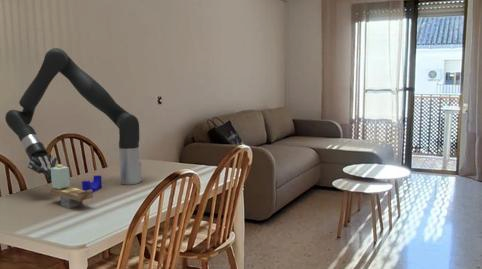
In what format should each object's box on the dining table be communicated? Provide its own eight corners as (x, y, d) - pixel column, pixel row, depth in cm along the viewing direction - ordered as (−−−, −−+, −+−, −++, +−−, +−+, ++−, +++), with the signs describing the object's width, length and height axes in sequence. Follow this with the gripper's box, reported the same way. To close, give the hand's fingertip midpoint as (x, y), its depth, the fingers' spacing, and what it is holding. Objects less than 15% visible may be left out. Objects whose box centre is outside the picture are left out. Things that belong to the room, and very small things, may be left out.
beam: (64, 199, 194) (63, 182, 193) (93, 207, 182) (92, 189, 181) (51, 202, 189) (50, 185, 188) (79, 211, 177) (78, 193, 176)
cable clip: (92, 187, 213) (92, 175, 212) (101, 188, 212) (101, 175, 211) (79, 194, 201) (78, 181, 200) (89, 195, 201) (88, 181, 200)
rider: (63, 184, 192) (61, 163, 191) (70, 186, 189) (68, 164, 188) (52, 187, 188) (50, 165, 187) (58, 189, 185) (57, 166, 184)
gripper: (21, 143, 191) (39, 176, 185) (51, 139, 201) (69, 170, 196) (16, 155, 195) (33, 187, 189) (45, 150, 205) (62, 181, 200)
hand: (51, 178), depth 193 cm, fingers closed
